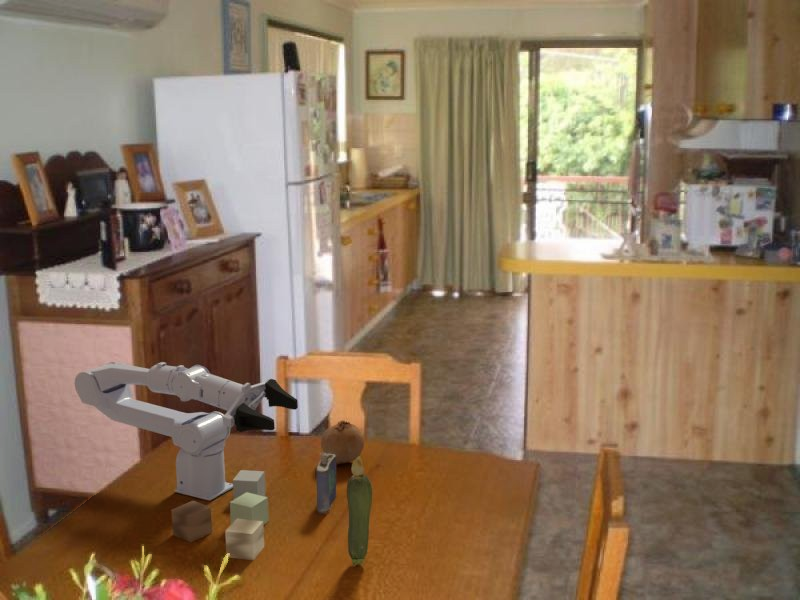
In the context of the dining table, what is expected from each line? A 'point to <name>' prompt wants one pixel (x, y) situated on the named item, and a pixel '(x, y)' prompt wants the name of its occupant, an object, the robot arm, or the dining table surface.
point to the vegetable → (358, 512)
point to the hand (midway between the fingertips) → (285, 414)
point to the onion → (343, 442)
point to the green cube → (250, 508)
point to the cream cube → (245, 539)
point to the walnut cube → (191, 521)
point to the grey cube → (249, 483)
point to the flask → (326, 482)
